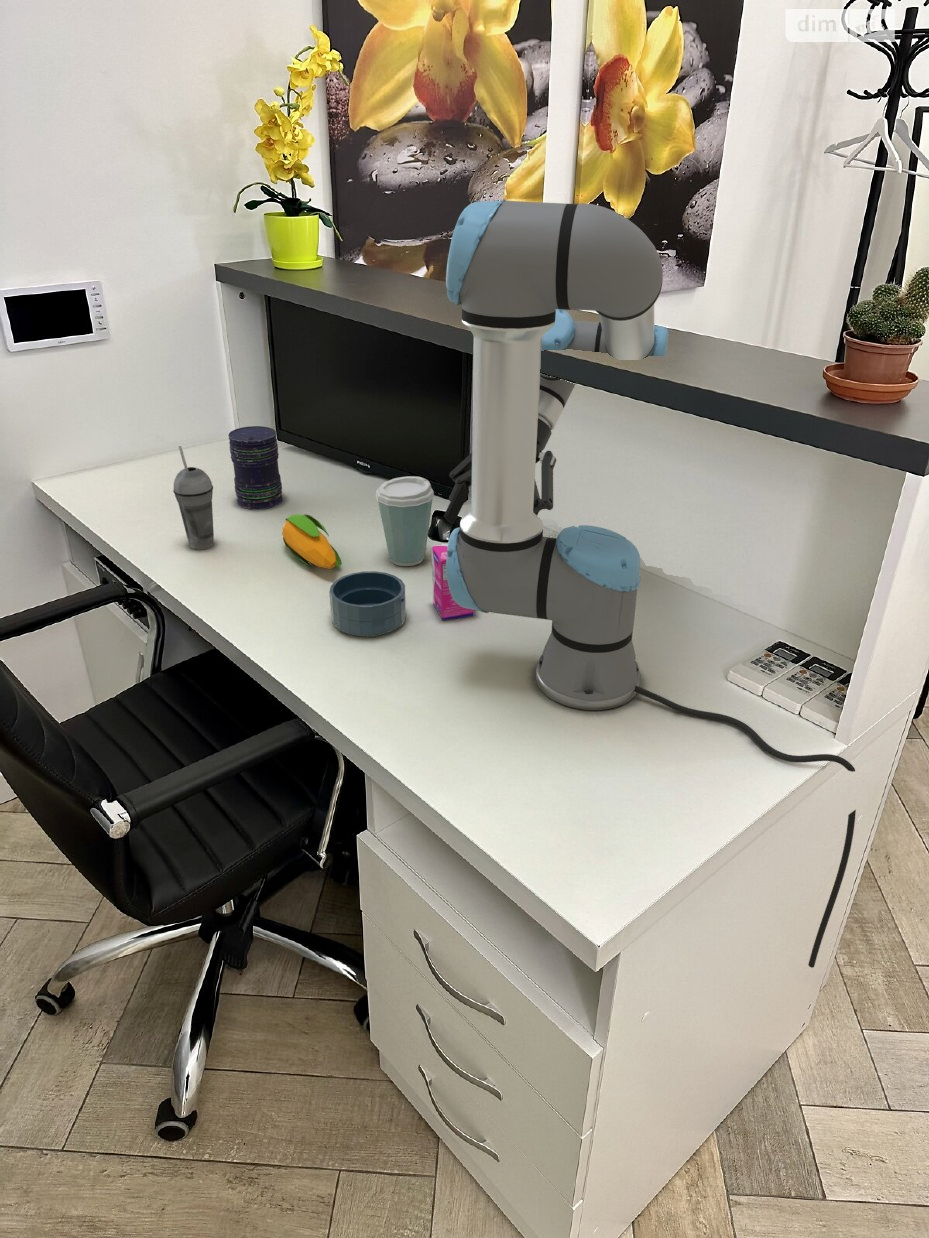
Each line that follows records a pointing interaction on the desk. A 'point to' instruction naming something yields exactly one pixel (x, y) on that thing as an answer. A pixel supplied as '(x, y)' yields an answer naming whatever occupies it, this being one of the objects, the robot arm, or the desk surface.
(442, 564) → the supplement box
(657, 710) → the desk surface
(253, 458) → the storage jar
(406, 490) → the disposable coffee cup
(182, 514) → the beverage cup
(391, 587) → the bowl
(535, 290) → the robot arm
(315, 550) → the corn
